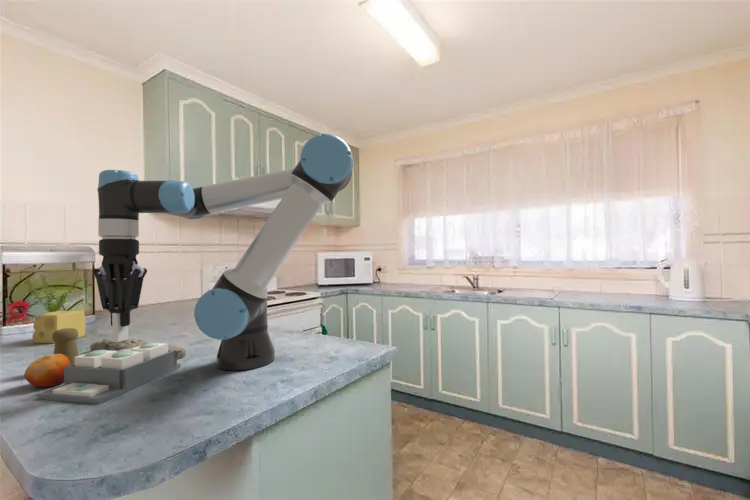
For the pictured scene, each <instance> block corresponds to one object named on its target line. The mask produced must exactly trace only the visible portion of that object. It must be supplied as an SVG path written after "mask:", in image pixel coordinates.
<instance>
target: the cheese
mask: <svg viewBox="0 0 750 500" xmlns="http://www.w3.org/2000/svg"><path fill="white" fill-rule="evenodd" d="M64 328H75V329H76V330H77V331H78V337H77V339H78V338H83V337H85V336H86V335H85V334H86V315H85V311H84V310H60V311H59V310H57V311H51V312H46V313H43V314H42V315H40V316H39V317H38V318H37V320H34V322H33V330H34V332H33V333H32V342H33V343H34V344H55V342H54V341H53V339H52V335H53V333H54V332H55V331H57V330H60V329H64Z"/></svg>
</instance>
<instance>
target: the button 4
mask: <svg viewBox="0 0 750 500" xmlns="http://www.w3.org/2000/svg"><path fill="white" fill-rule="evenodd" d="M168 345H169V344H168V343H167V342H166V343H164V342H163V343H162V342H161V343H160V342H148V343H146V344H143V345H141V346H138V347H135V348H132V349H131V351H133V352H143V359H151V358H154V357H156V356H159V355H162V354H164V353H167V352H168Z"/></svg>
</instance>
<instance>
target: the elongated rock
mask: <svg viewBox="0 0 750 500" xmlns="http://www.w3.org/2000/svg"><path fill="white" fill-rule="evenodd" d="M146 343H149V342H148V341H147V342H146V341H144V340H141V339H136V338H130V339H126V340H123V341H119V342H113V340H112V339H110V338H109V339H108V338H103V340H101V341H99V340H98V341H95V342H92V343H91V344H90V345H89V348H90V351H89V352H91V351H96V350H108V351H118V350H121V349H124V348H135V347H138V346H141V345H143V344H146ZM168 350H176V351H177V360H179V359H183V358H184V357H185V356H186V354H187V351H186V349H185V348H183V347H182V346H179V345H170V344H168Z"/></svg>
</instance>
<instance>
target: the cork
mask: <svg viewBox="0 0 750 500" xmlns="http://www.w3.org/2000/svg"><path fill="white" fill-rule="evenodd" d="M77 337H78V331H77V330H76V329H75V328H64V329H60V330H57V331H55V332H54V333H53V335H52V339H53V341H54V342H55V343H54V348H53V349H54V350H53V354H63V355H65V356H67V357H68V359H69V361H70V364H71V365H73V364H75V359H74V357H76V356H80V354H79V350H78V345H77V341H76V340H77V339H78V338H77Z"/></svg>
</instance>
